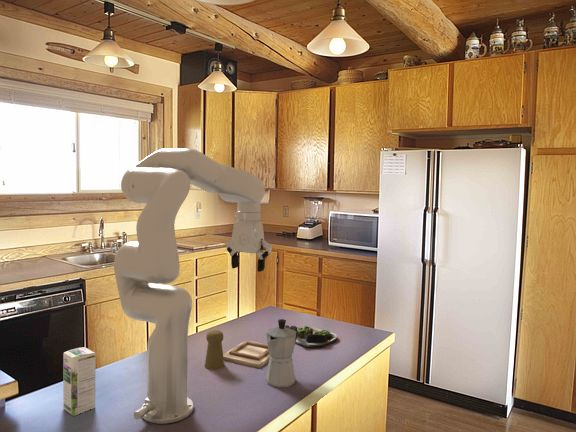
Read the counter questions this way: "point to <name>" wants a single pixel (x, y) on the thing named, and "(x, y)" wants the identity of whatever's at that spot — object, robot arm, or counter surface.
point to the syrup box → (78, 380)
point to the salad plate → (314, 337)
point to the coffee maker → (281, 355)
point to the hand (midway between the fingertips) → (247, 269)
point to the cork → (214, 350)
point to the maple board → (248, 354)
